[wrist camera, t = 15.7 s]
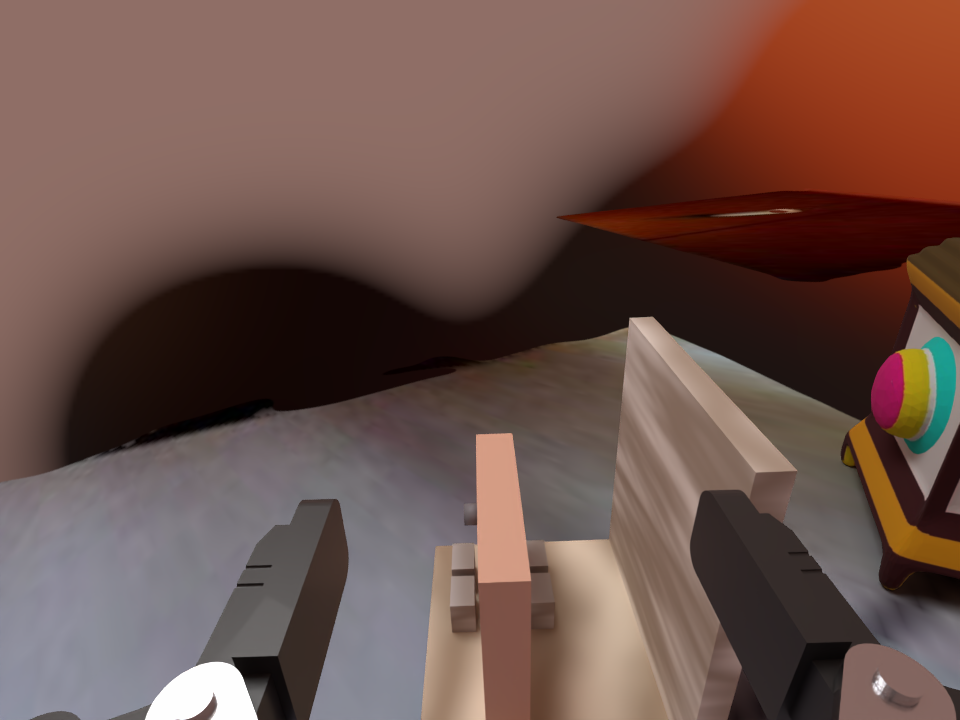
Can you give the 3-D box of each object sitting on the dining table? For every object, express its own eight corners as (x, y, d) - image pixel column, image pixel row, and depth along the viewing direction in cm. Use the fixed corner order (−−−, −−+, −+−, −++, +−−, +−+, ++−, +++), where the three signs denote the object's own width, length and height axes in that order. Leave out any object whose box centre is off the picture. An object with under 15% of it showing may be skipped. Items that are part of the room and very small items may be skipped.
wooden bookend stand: (417, 789, 27) (368, 488, 18) (436, 555, 41) (413, 326, 33) (710, 778, 27) (797, 470, 18) (626, 547, 41) (653, 317, 33)
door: (468, 739, 28) (455, 584, 23) (469, 567, 39) (461, 435, 34) (530, 737, 28) (531, 580, 23) (513, 565, 39) (512, 433, 34)
